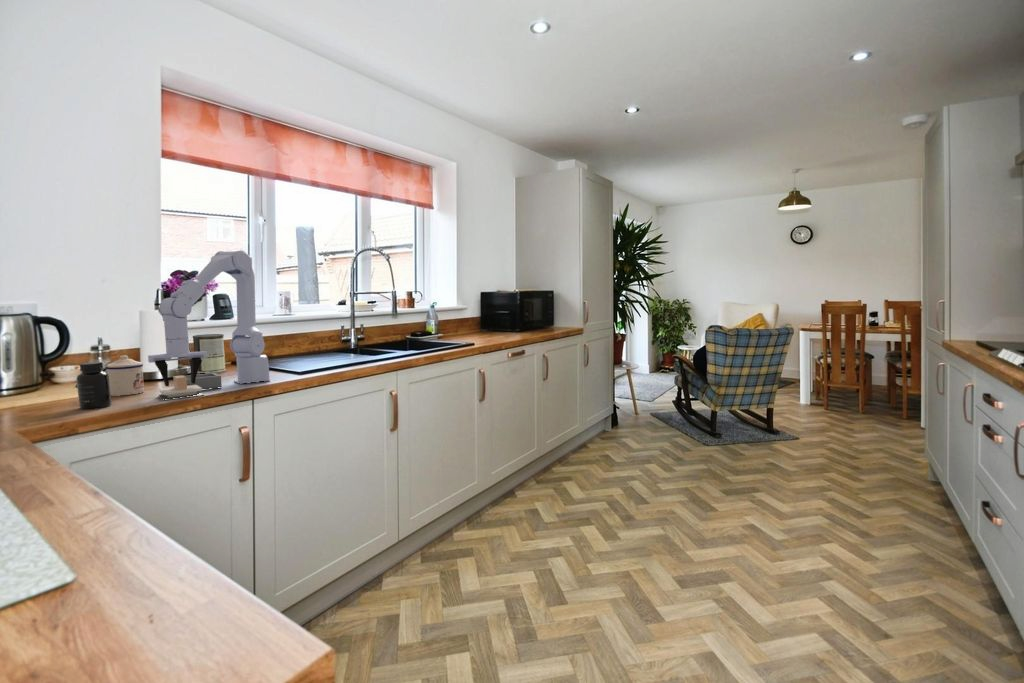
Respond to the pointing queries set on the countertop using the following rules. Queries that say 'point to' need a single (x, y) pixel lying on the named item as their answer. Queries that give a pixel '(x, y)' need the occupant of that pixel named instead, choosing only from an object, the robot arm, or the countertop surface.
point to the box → (206, 380)
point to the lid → (180, 388)
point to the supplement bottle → (93, 386)
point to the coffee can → (210, 352)
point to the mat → (176, 396)
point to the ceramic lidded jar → (125, 376)
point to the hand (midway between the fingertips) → (180, 384)
